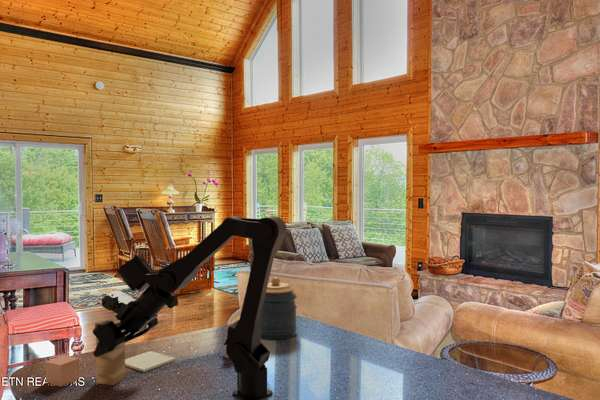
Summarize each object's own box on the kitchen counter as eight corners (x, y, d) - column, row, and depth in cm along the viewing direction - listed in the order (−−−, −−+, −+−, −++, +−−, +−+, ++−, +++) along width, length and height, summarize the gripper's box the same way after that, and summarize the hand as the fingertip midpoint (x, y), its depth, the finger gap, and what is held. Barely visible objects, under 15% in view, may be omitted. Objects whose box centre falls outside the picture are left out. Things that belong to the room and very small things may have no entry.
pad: (175, 360, 129) (175, 358, 129) (143, 372, 121) (143, 369, 121) (150, 353, 135) (150, 350, 135) (118, 363, 127) (118, 361, 127)
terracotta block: (79, 379, 117) (78, 358, 117) (61, 386, 113) (61, 365, 112) (64, 375, 119) (63, 355, 119) (45, 383, 115) (45, 361, 115)
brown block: (126, 377, 118) (125, 319, 117) (114, 385, 113) (113, 324, 113) (108, 375, 119) (107, 318, 119) (95, 383, 114) (94, 323, 114)
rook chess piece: (236, 359, 130) (236, 329, 130) (220, 358, 131) (220, 328, 131) (241, 353, 134) (241, 324, 134) (226, 352, 135) (225, 323, 135)
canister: (279, 325, 162) (279, 272, 161) (305, 334, 152) (305, 277, 151) (246, 333, 153) (246, 276, 153) (271, 343, 143) (271, 283, 143)
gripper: (146, 273, 124) (107, 314, 126) (100, 288, 105) (56, 335, 108) (175, 306, 122) (135, 347, 125) (133, 327, 104) (88, 374, 107)
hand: (105, 349), depth 116 cm, fingers open, 8 cm apart
